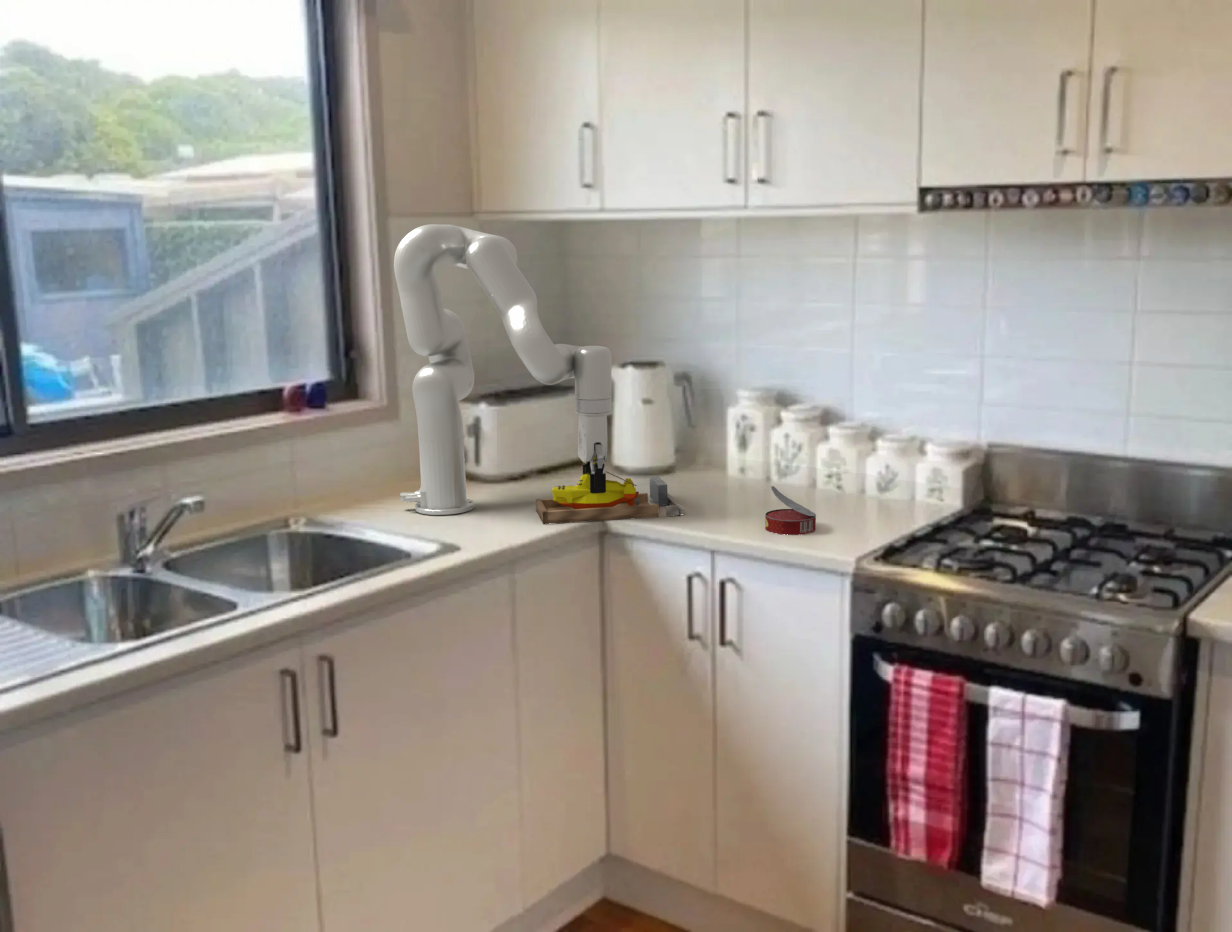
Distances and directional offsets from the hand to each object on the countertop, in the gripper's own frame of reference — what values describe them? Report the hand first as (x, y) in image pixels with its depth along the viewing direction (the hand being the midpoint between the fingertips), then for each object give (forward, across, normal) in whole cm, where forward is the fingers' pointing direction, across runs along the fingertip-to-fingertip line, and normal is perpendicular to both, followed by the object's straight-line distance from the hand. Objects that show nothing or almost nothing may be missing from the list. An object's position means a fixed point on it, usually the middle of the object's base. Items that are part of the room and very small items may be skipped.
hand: (594, 487), depth 252 cm
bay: (+6, -4, +3) cm, 8 cm away
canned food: (+5, +22, +36) cm, 42 cm away
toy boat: (+5, 0, 0) cm, 5 cm away
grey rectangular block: (+5, -8, +16) cm, 18 cm away
